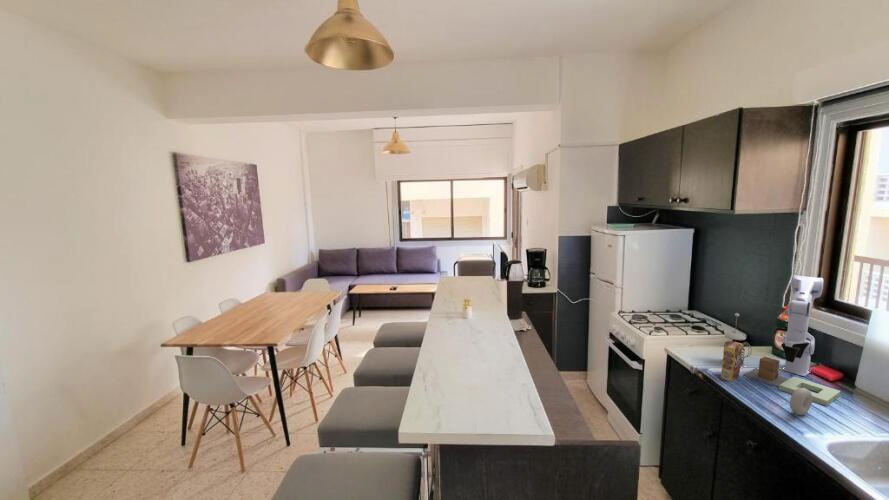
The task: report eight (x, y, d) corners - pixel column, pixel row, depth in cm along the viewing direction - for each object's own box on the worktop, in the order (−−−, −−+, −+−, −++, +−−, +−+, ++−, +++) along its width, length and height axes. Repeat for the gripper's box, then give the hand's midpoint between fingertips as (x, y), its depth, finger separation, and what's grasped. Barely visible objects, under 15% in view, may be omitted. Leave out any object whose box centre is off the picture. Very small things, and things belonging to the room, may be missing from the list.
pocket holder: (793, 380, 154) (793, 376, 154) (839, 395, 142) (840, 390, 142) (778, 389, 148) (779, 384, 147) (826, 405, 135) (827, 401, 135)
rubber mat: (755, 368, 166) (756, 367, 166) (790, 379, 155) (790, 378, 155) (743, 375, 160) (743, 374, 160) (777, 387, 149) (778, 386, 149)
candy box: (732, 382, 154) (735, 348, 152) (720, 378, 158) (723, 345, 156) (740, 376, 159) (743, 343, 157) (728, 372, 163) (731, 340, 161)
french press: (728, 357, 177) (732, 309, 174) (755, 367, 167) (760, 316, 163) (715, 361, 174) (719, 311, 171) (741, 371, 163) (746, 319, 160)
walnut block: (763, 373, 160) (764, 356, 159) (777, 377, 156) (779, 360, 155) (758, 376, 158) (759, 358, 157) (772, 380, 154) (774, 363, 153)
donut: (798, 420, 128) (801, 393, 126) (786, 414, 131) (789, 389, 129) (812, 412, 131) (816, 387, 130) (800, 408, 135) (803, 383, 133)
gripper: (791, 323, 157) (788, 352, 159) (777, 329, 150) (773, 359, 152) (813, 327, 151) (810, 358, 152) (799, 334, 144) (796, 366, 146)
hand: (793, 359), depth 152 cm, fingers open, 7 cm apart
